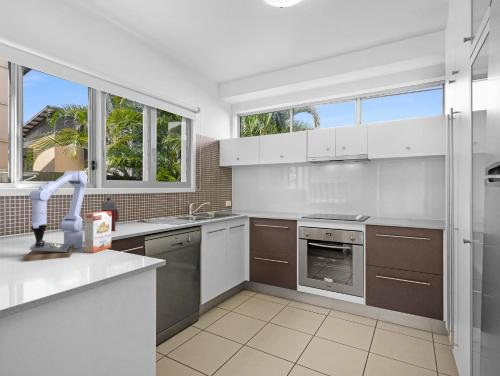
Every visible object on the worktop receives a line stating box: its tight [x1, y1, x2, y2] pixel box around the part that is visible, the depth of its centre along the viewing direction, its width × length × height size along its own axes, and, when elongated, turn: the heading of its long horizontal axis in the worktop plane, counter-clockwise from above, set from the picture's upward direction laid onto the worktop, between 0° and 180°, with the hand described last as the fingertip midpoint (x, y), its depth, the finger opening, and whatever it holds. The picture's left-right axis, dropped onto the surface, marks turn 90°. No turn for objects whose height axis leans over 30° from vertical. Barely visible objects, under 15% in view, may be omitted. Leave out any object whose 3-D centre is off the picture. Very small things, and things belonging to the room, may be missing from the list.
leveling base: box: [23, 245, 75, 262], centre depth 139 cm, size 18×16×3 cm
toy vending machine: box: [101, 194, 119, 232], centre depth 212 cm, size 9×11×28 cm
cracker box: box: [83, 210, 112, 254], centre depth 151 cm, size 14×6×21 cm, turn 168°
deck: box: [29, 239, 71, 252], centre depth 139 cm, size 15×13×3 cm
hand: (39, 240), depth 137 cm, fingers closed, pressing on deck
